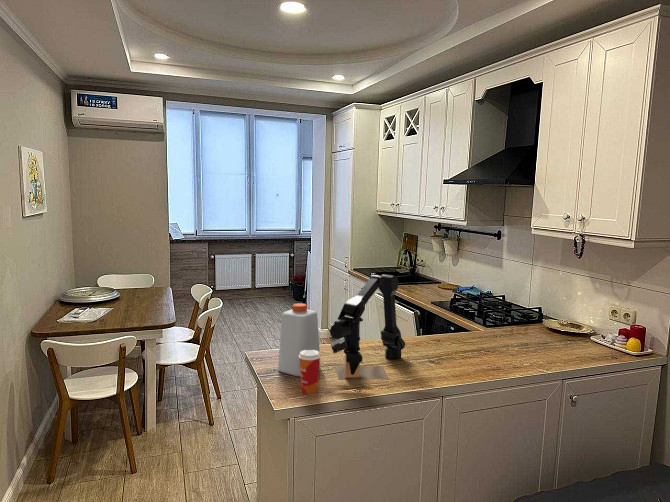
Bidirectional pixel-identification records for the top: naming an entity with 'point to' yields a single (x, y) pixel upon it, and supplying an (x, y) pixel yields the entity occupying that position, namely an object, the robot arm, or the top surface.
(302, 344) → the plastic bottle
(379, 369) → the walnut board
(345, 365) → the square block
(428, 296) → the top surface
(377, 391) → the top surface
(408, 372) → the top surface
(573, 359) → the top surface
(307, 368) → the coffee cup
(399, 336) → the robot arm
